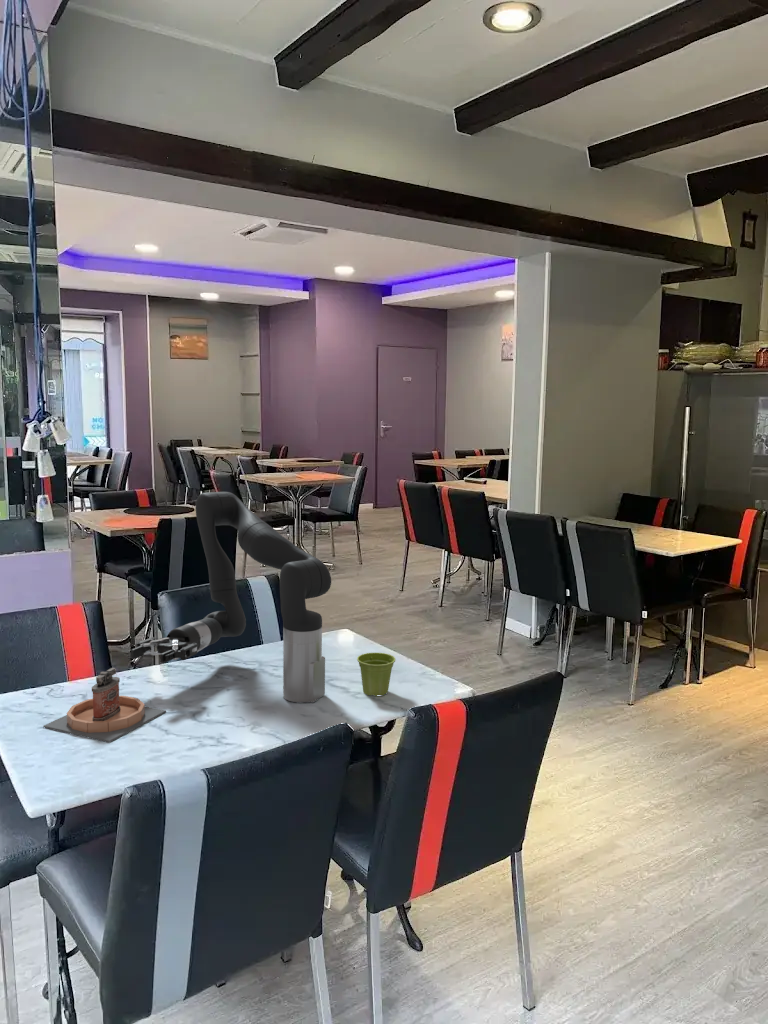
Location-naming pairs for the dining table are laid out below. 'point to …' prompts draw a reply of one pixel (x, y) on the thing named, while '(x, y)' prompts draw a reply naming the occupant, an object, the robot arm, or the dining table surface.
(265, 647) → the dining table surface
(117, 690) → the lighter
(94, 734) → the mat
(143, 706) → the dish
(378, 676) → the plant pot
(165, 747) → the dining table surface
